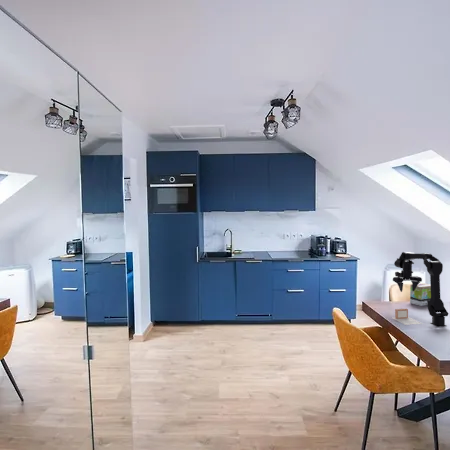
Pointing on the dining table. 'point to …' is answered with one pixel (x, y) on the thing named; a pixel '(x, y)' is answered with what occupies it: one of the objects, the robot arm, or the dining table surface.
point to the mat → (408, 321)
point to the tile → (401, 313)
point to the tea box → (420, 294)
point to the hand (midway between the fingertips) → (407, 291)
